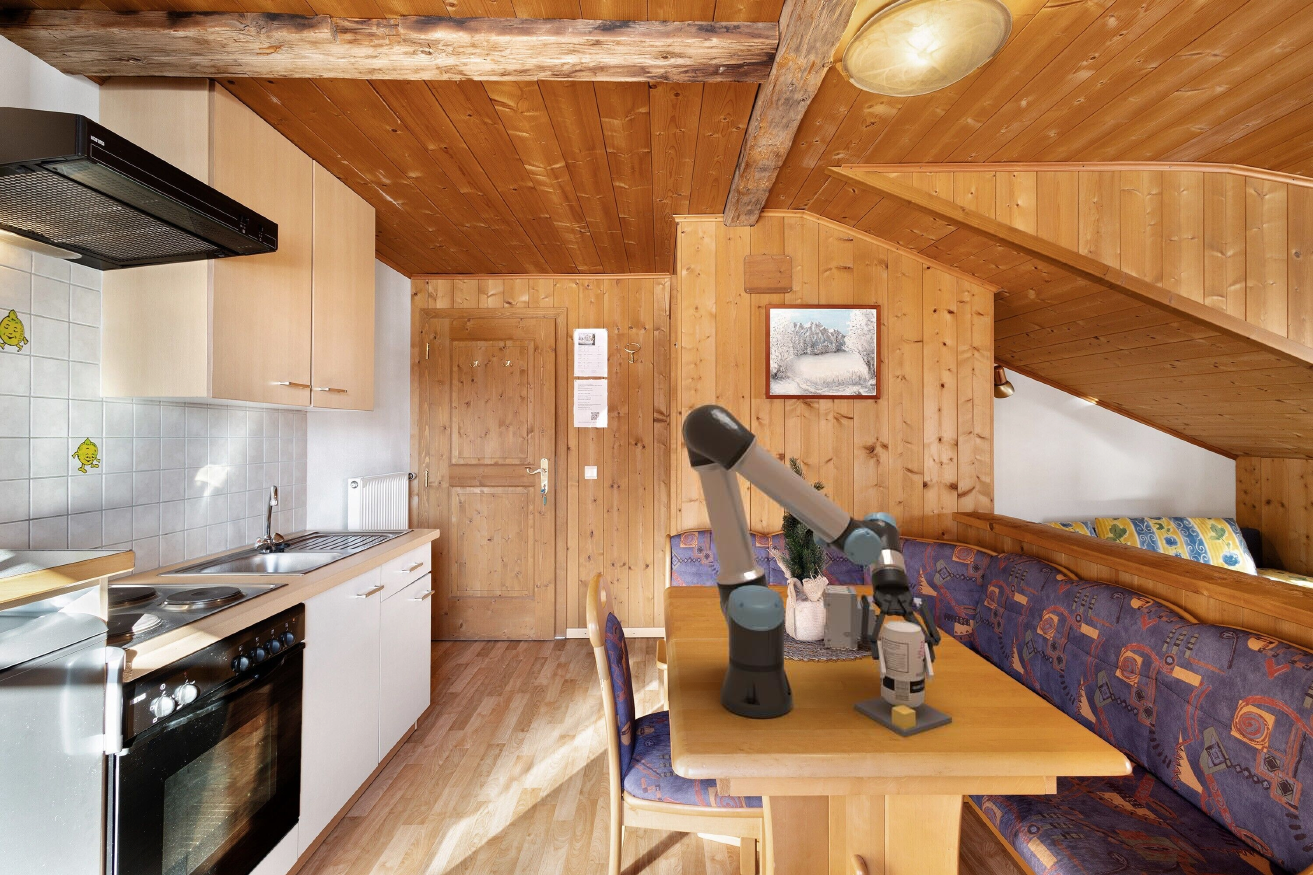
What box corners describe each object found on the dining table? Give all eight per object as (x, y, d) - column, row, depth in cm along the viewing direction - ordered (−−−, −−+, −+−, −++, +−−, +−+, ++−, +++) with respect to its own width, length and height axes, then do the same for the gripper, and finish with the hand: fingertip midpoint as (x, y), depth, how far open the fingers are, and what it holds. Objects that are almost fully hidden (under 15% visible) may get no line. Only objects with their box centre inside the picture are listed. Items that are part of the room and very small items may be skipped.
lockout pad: (904, 736, 114) (904, 716, 114) (854, 708, 126) (854, 689, 125) (951, 722, 119) (951, 702, 119) (899, 695, 131) (899, 677, 131)
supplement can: (875, 690, 127) (875, 619, 126) (915, 690, 126) (915, 619, 126) (889, 708, 119) (888, 633, 118) (931, 709, 118) (931, 633, 118)
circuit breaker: (882, 652, 156) (882, 595, 156) (825, 649, 159) (825, 592, 159) (877, 642, 164) (877, 587, 163) (823, 639, 166) (823, 585, 166)
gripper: (935, 585, 136) (958, 687, 120) (838, 582, 139) (849, 680, 123) (942, 567, 130) (968, 671, 115) (841, 565, 134) (853, 665, 118)
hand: (906, 676), depth 119 cm, fingers closed on supplement can, 8 cm apart
